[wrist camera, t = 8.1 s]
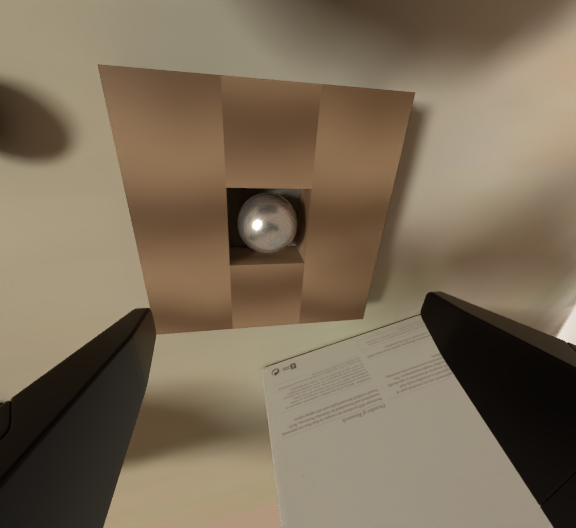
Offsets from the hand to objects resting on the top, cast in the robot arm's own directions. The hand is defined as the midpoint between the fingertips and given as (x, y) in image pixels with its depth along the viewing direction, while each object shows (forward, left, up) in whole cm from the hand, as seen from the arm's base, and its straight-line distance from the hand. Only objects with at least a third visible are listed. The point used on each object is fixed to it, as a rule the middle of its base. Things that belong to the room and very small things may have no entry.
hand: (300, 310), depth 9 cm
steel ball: (0, 0, -8) cm, 8 cm away
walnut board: (0, 0, -10) cm, 10 cm away
